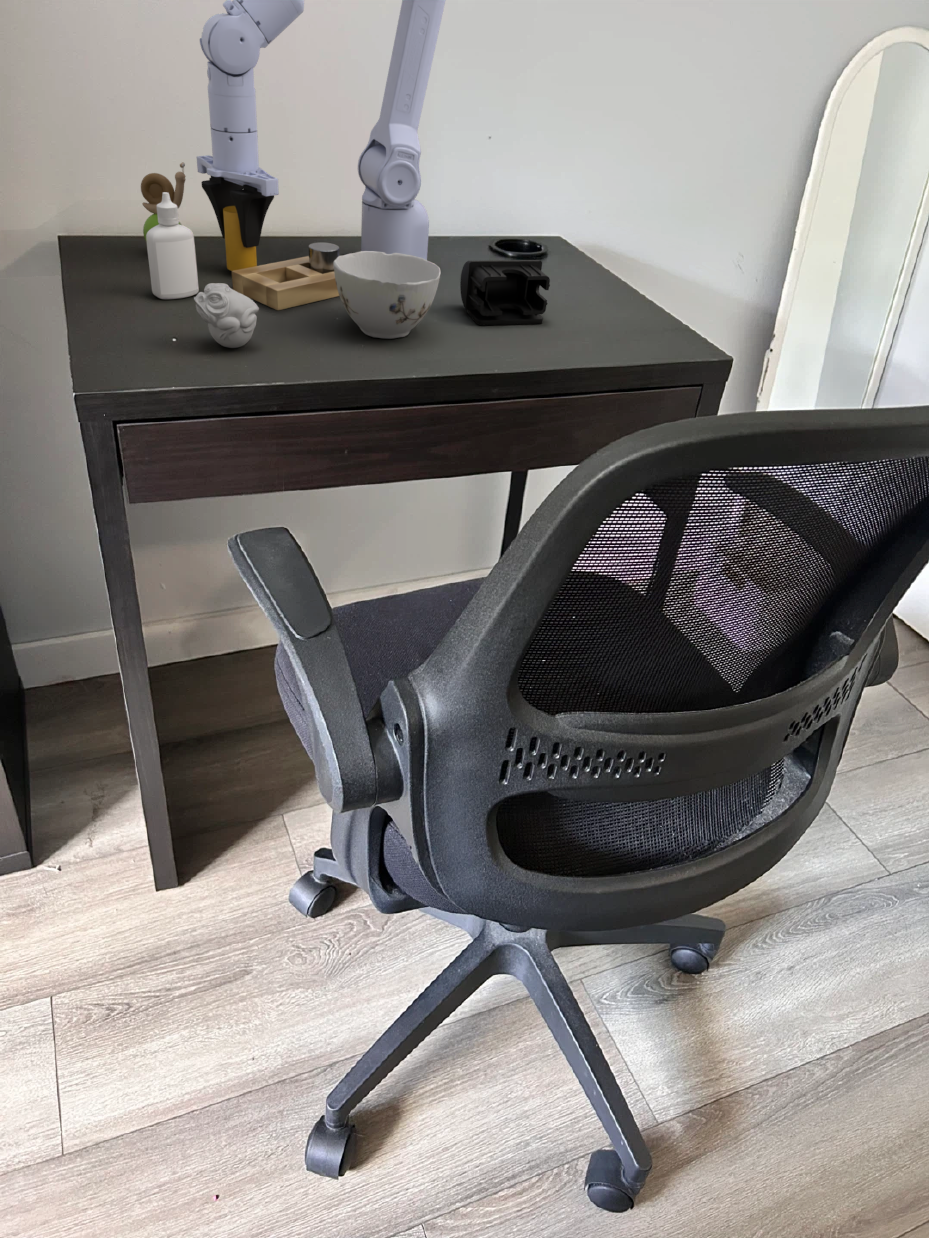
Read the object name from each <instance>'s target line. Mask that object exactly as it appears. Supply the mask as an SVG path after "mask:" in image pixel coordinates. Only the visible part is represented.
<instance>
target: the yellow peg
mask: <svg viewBox="0 0 929 1238" xmlns="http://www.w3.org/2000/svg"><path fill="white" fill-rule="evenodd" d="M223 216H224V231H225V239H224V243H225V258H226V268H227V270H229V271H231V272H232V271H234V270H239V269H245V268H250V267H255V266H258V260H257V259H258V258H257V246H255V247H249V248H246V247H244V246H243V243H242V239H241V232H240V224H239V218H238V214H237V211H236V207H235V206H228V207H225V208H223Z"/></svg>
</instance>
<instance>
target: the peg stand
mask: <svg viewBox="0 0 929 1238" xmlns="http://www.w3.org/2000/svg"><path fill="white" fill-rule="evenodd" d="M231 280H232V281H231V282H232V284H231V285H232V289H233V290H235V291H237V292H238V293H241V294H243V295H245V296H247V297H248V298H250V299H251V300H253V301H255V302H258V303H260V304H262V305H265V306H267V307H269V308H271V309H274V310H275V311H282V310H285V309H290V308H294V307H299V306H303V305H307V304H311V303H315V302H319V301H324V300H328V299H333V298H336V297H340V296H339V293H338V289H337V285H336V281H335V274H334V272H329V273H324V274H321V273H319V272H316V271H314V270H311V269H309V255H305V256H302V257H296V258H291V259H287V260H281V261H276V262H270V263H267V264H260V265H257V266H255V267H250V268H245V269H239V270H234V271H231Z"/></svg>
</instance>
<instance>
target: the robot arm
mask: <svg viewBox="0 0 929 1238" xmlns="http://www.w3.org/2000/svg"><path fill="white" fill-rule="evenodd" d="M446 1H447V0H401V5H400V10H399V16H398V21H397V25H396V30H395V35H394V41H393V47H392V50H391V57H390V62H389V66H388V71H387V77H386V83H385V86H384V87H385V88H384V92H383V97H382V103H381V108H380V114H379V118H378V120H377V121H376V123H375V124H374V126H373V127H372V129H371V130H370V134H369V139H368V142H367V144H366V146H365V147H364V149H363V150H362V152H361V153H360V155H359V158H358V161H357V174H358V177H359V180H360V182H361V183H362V184H363V186H364V187H365V188H364V191H363V193H362V195H361V200H362V201H361V227H360V228H361V230H360V232H361V234H360V235H361V236H360V237H361V238H360V251H376V252H383V253H386V254H393V253H400V254H406V255H413V256H417V257H420V258H423V259H425V260H427V261H428V249H429V234H430V232H429V231H430V219H429V214H428V212H427V211H428V210H427V209H426V207H425V206H424V205H423V203H422V202H421V201H419V200H417V199H416V197H417V196H418V194H419V193H420V190H421V185H422V175H421V170H420V159H421V154H422V149H421V144H420V143H421V142H420V138H419V134H418V131H419V127H420V121H421V117H422V111H423V108H424V102H425V98H426V93H427V89H428V83H429V79H430V74H431V70H432V65H433V61H434V56H435V51H436V47H437V41H438V37H439V33H440V28H441V24H442V19H443V15H444V9H445V5H446ZM222 6H223V8H224V9H225V12H226V13H225V12H224V13H216V14H214V15H212V16H211V17H209V18H208V19H207V20H206V22H205V23H204V25H203V28H202V32H201V37H200V38H199V45H200V49H201V51H202V54H203V55H204V56H205V58H206V59H207V63H206V65H207V69H206V73H207V78H208V79H207V80H208V84H207V97H208V98H207V99H208V111H209V113H208V114H209V124H210V138H211V140H210V141H211V152H212V155H210V154H207V155H197V156H196V168H197V169H196V170H197V173H199V174H207V175H208V176H210V177H209V179H208V180H202V181H201V183H200V184H201V188H202V189H203V191H204V193H205V194H206V196H207V198H208V200H209V202H210V204H211V206H212V209H213V211H214V214H215V217H216V220H217V223H218V227H219V231H220V234H221V236H222V239H224V240H225V231H224V216H223V208H225V207H228V206H235V207H236V211H237V214H238V218H239V224H240V232H241V239H242V243H243V246H244V247H246V248H249V247H255V246H256V247H259V246H260V241H261V235H262V231H263V226H264V222H265V218H266V215H267V212H268V210H269V208H270V206H271V204H272V202H273V201H274V199H275V196H279V195H280V192H279V178H277V177H275V176H274V175H272V174H269V173H268V172H267V171H265V170H264V169H263V168H261V167H260V158H259V139H258V138H259V136H258V118H257V117H258V115H257V94H256V93H257V91H256V88H255V74H254V72H255V71H254V69H255V67H256V66H257V64H258V62H259V58H260V54H261V49H265V48H267V47H268V46H269V45H270V44H271V43H273V41H274V40H275V39H277V37H278V36H280V35H281V34H282V33H283V32H284V31H285V30H286V29H287V28H288V27H289V26H290V25H291V24H292V23H294V21H295V20H296V19H297V18H299V17H300V16H301V15H302V14H303V13H304V11H305V10H304V9H305V0H225V1H224V2H223V3H222Z"/></svg>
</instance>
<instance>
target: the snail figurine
mask: <svg viewBox="0 0 929 1238" xmlns="http://www.w3.org/2000/svg"><path fill="white" fill-rule="evenodd" d="M185 166H186V163H185V162H182V161H181V163H179V168H181V171H177V172H175V174H174V180H175V188H174V186H173V183H172V182H171V181H170V180H169V179H168V177H166V176H165V175H163V174H161V173H157V172H151V173H148V174H146V175H145V176H144V177H143V178H142V180H141V182H140V192H141V195H142V197H143V198H144V200H145V201H146V202H142V206H143V207H144V209H146V210H147V211H148V212H149V213H151V215H150V216H148V217H147V218H146V219H145V222H144V225H143V230H142V232H143V238H144V241H145V243H147V241H146V234H147V232H148V231H149V230H150V229H151V228H153V227H155V226H157V225H159V223H158V216H157V207H156V206H157V204H159V203H161V202H162V194H163V192H168V193H169V196H170V199H171V202H172V203H174V204H176V205H177V206H178V209H179V208H180V207H181V205H182V202H183V198H184V192H185V182H186V177H187V175H186V174H185ZM178 224H180V225H182V223H181V222H180V221H179V223H178Z"/></svg>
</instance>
